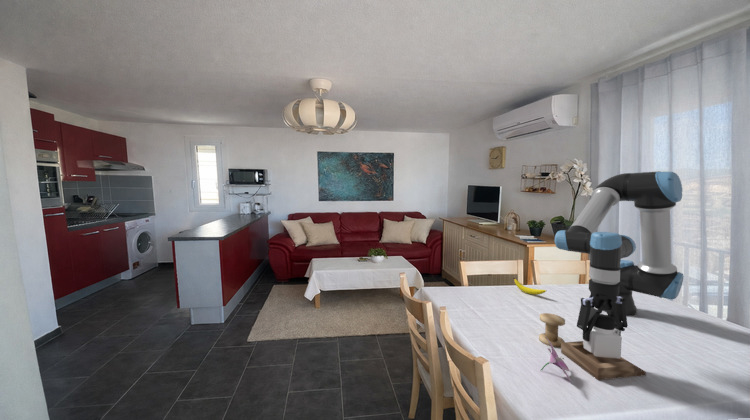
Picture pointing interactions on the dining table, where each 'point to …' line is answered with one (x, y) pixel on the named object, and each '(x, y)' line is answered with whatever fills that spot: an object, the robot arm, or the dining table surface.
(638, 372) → the notched board
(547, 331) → the bobbin
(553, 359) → the lily
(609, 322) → the medicine bottle
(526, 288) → the banana
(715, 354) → the dining table surface
